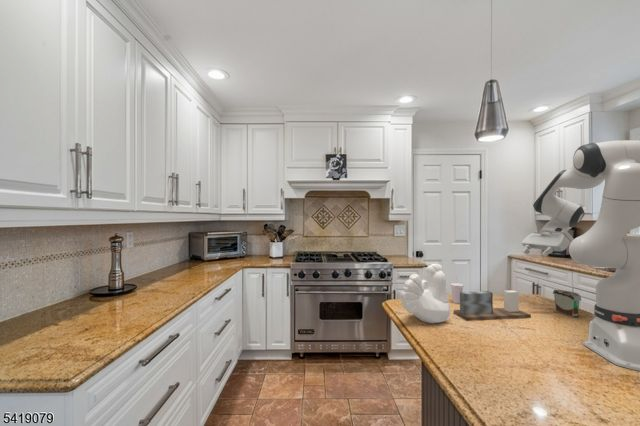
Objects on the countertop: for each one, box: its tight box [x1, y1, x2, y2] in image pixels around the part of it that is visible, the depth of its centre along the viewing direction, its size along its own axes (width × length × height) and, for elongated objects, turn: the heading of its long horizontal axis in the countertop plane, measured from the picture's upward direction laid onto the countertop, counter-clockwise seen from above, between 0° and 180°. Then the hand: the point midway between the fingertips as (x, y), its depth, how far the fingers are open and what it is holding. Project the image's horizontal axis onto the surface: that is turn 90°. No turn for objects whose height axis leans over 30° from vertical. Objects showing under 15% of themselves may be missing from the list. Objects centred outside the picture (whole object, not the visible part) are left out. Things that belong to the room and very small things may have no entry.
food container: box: [552, 289, 582, 319], centre depth 131 cm, size 12×6×10 cm, turn 179°
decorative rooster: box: [400, 263, 451, 324], centre depth 124 cm, size 25×16×25 cm, turn 105°
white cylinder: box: [503, 290, 520, 312], centre depth 131 cm, size 5×3×9 cm, turn 97°
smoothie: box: [450, 275, 464, 305], centre depth 149 cm, size 6×6×14 cm
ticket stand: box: [453, 290, 532, 322], centre depth 130 cm, size 31×10×11 cm, turn 97°
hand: (533, 254), depth 133 cm, fingers open, 8 cm apart
